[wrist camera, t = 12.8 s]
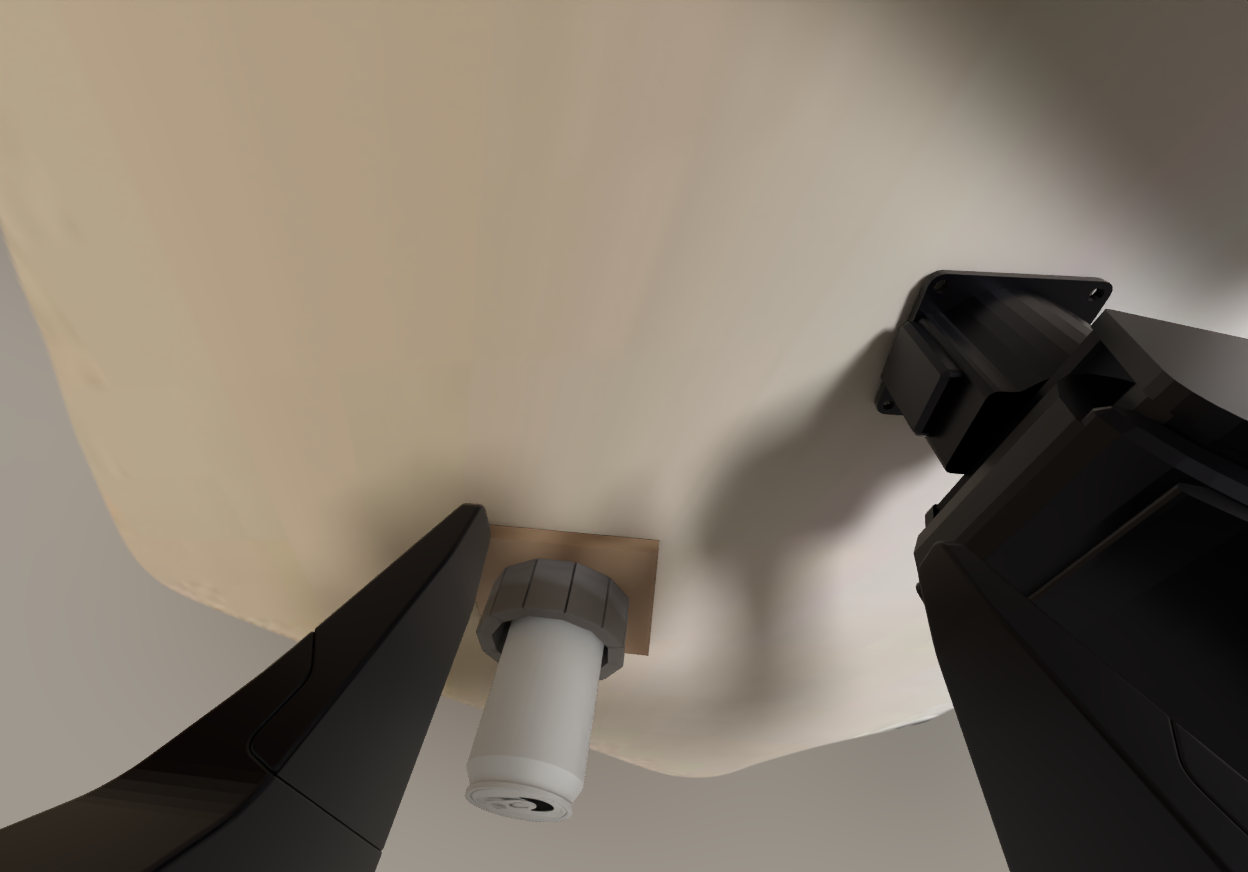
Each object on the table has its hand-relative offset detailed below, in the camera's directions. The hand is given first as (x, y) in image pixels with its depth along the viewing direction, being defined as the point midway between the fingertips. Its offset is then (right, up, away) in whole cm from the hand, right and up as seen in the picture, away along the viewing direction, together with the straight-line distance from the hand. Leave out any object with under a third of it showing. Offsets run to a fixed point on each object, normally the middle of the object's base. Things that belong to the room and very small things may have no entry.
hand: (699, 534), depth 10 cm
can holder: (-6, -9, +25) cm, 27 cm away
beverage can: (-6, -10, +24) cm, 27 cm away
